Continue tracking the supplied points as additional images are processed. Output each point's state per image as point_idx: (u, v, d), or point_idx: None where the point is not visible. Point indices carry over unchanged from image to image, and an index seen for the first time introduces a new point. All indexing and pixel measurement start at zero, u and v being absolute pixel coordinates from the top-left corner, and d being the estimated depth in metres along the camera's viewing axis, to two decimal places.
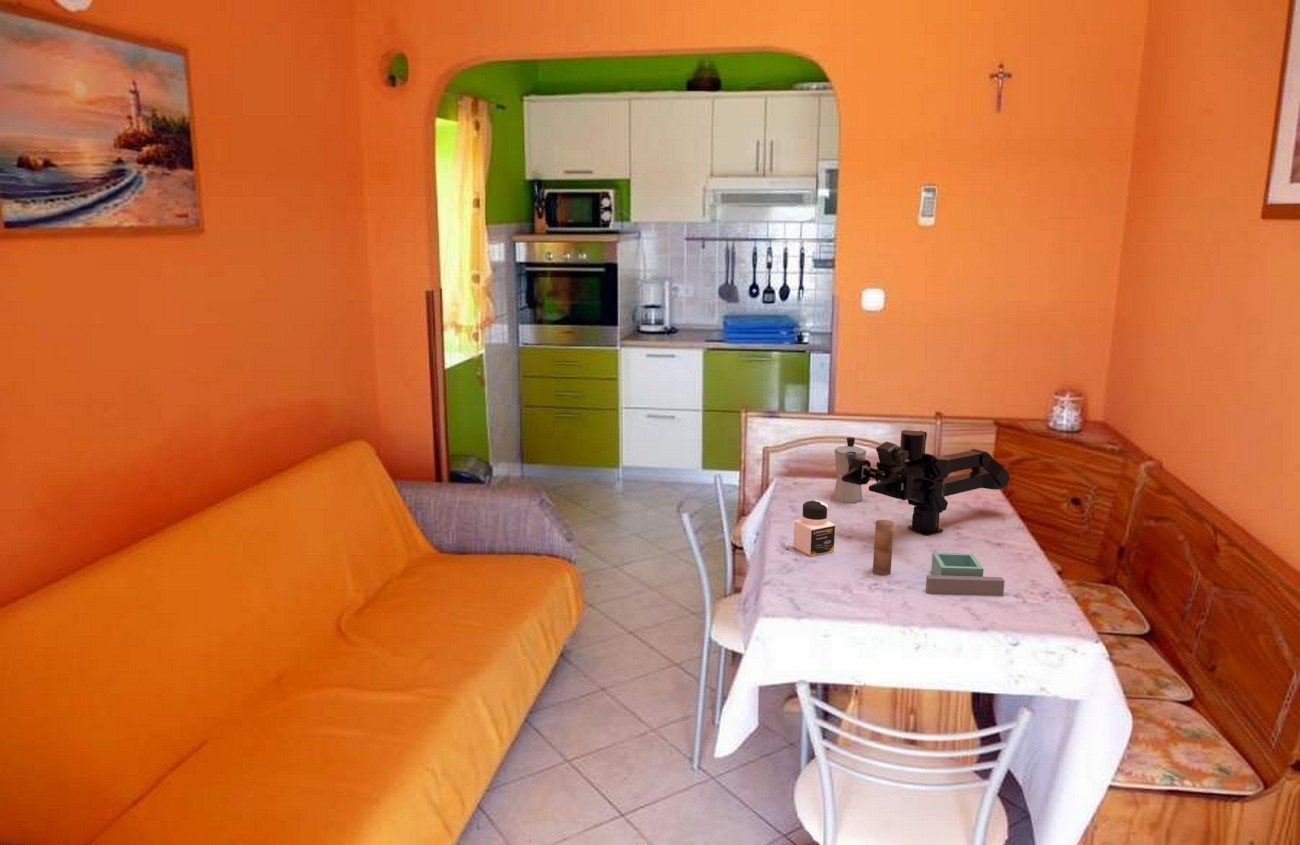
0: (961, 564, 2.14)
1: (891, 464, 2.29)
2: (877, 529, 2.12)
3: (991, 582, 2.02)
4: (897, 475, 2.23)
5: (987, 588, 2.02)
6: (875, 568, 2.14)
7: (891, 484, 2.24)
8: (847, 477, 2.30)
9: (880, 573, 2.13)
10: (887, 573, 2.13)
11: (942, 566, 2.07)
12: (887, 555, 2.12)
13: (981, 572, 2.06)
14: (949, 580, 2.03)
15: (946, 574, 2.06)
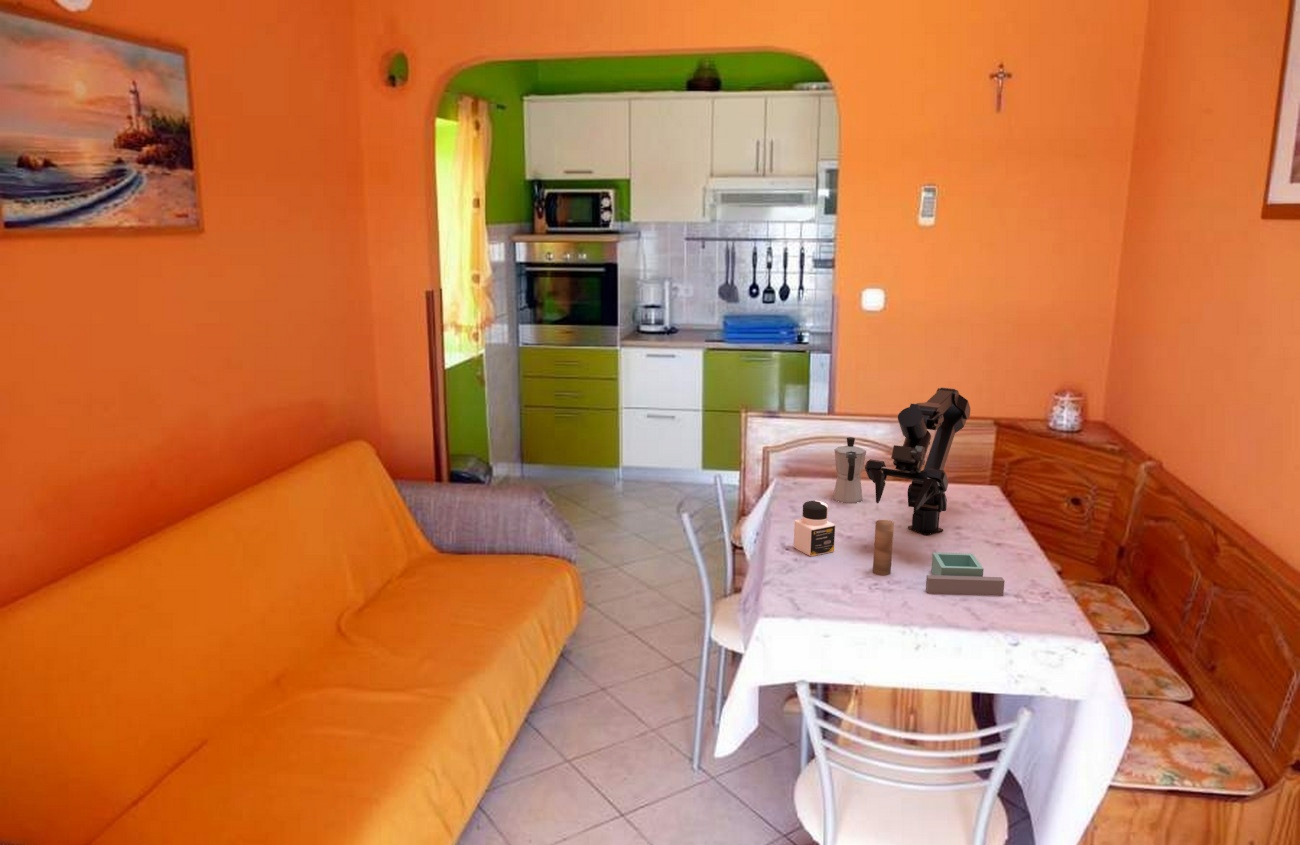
0: (961, 564, 2.14)
1: (912, 463, 2.19)
2: (877, 529, 2.12)
3: (991, 582, 2.02)
4: (931, 480, 2.16)
5: (987, 588, 2.02)
6: (875, 568, 2.14)
7: None
8: (879, 496, 2.22)
9: (880, 573, 2.13)
10: (887, 573, 2.13)
11: (942, 566, 2.07)
12: (887, 555, 2.12)
13: (981, 572, 2.06)
14: (949, 580, 2.03)
15: (946, 574, 2.06)
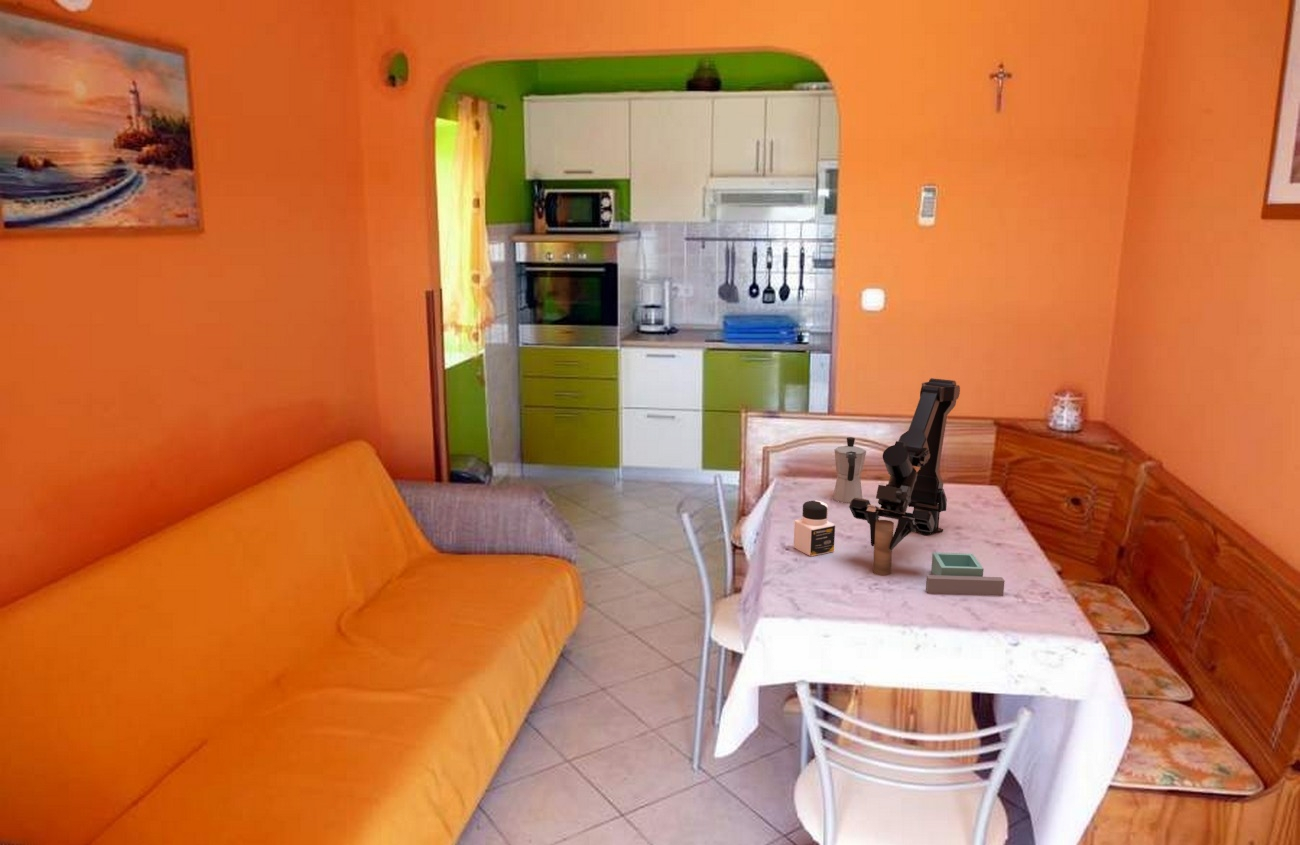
0: (961, 564, 2.14)
1: (897, 502, 2.13)
2: (877, 529, 2.12)
3: (991, 582, 2.02)
4: (906, 519, 2.11)
5: (987, 588, 2.02)
6: (875, 568, 2.14)
7: None
8: (874, 539, 2.14)
9: (880, 573, 2.13)
10: (887, 573, 2.13)
11: (942, 566, 2.07)
12: (887, 555, 2.12)
13: (981, 572, 2.06)
14: (949, 580, 2.03)
15: (946, 574, 2.06)
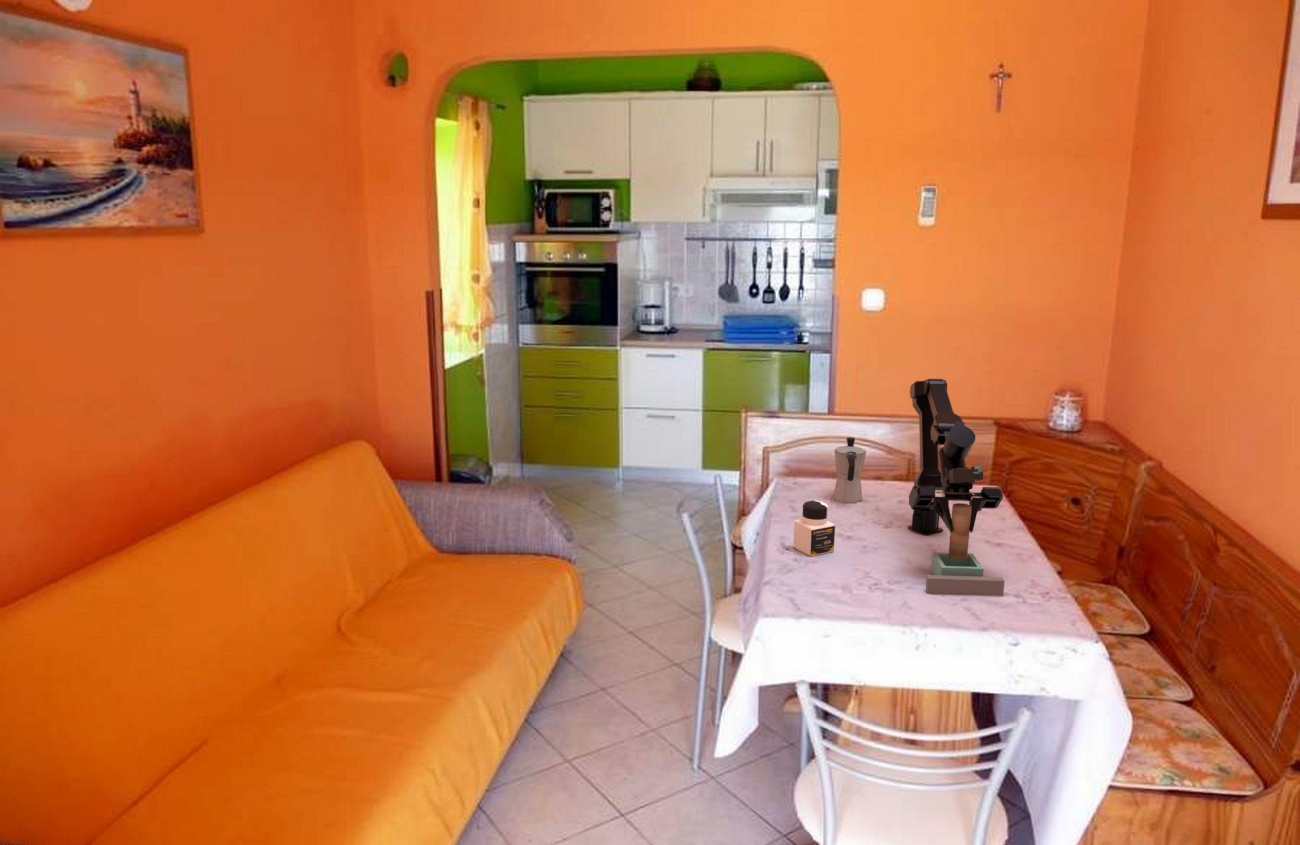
0: (961, 564, 2.14)
1: (967, 484, 2.09)
2: (958, 514, 2.06)
3: (991, 582, 2.02)
4: (982, 499, 2.08)
5: (987, 588, 2.02)
6: (956, 554, 2.08)
7: None
8: None
9: (961, 558, 2.08)
10: (966, 557, 2.09)
11: (942, 566, 2.07)
12: (968, 539, 2.08)
13: (981, 572, 2.06)
14: (949, 580, 2.03)
15: (946, 574, 2.06)
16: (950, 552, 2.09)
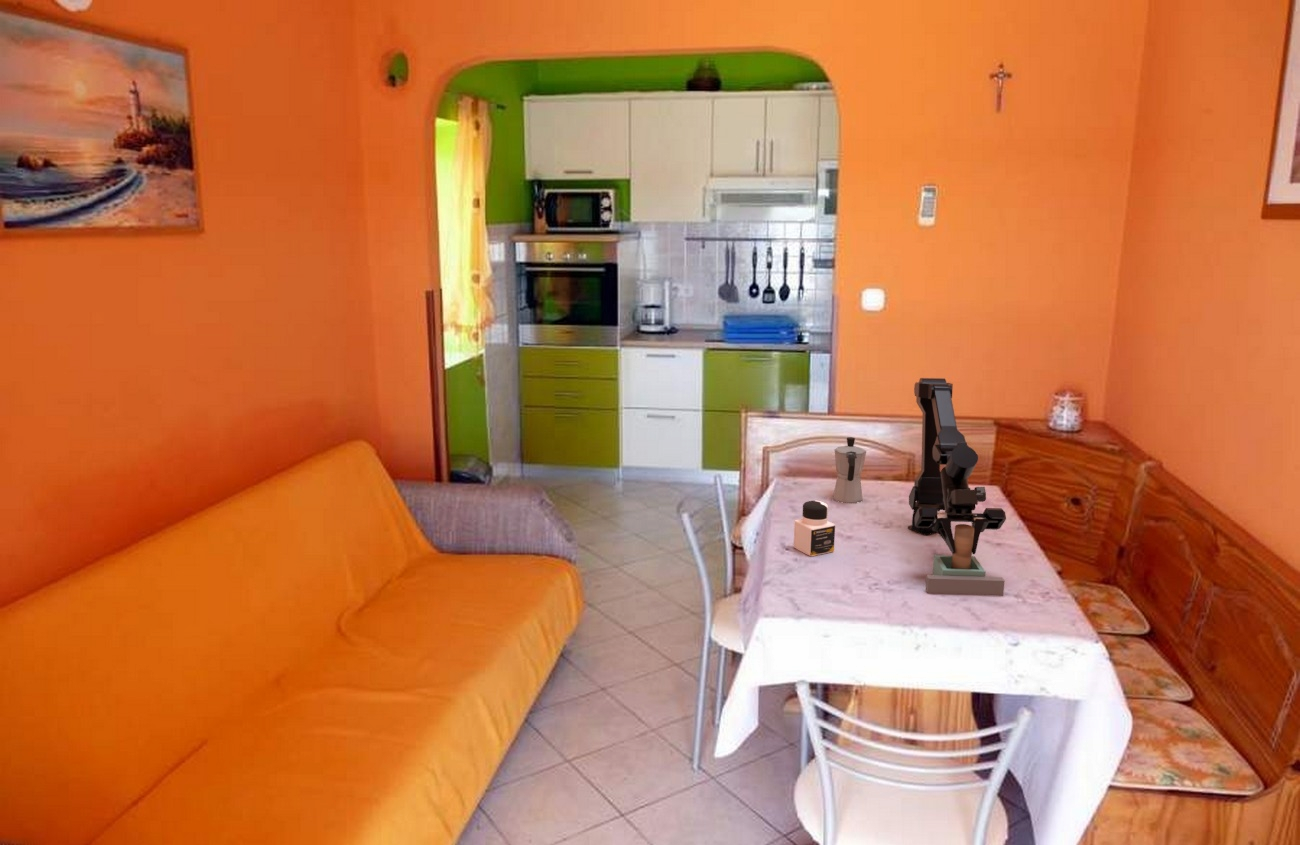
0: None
1: (970, 505, 2.07)
2: (961, 536, 2.03)
3: (991, 582, 2.02)
4: (984, 520, 2.06)
5: (987, 588, 2.02)
6: None
7: None
8: None
9: None
10: None
11: (944, 569, 2.05)
12: (970, 560, 2.05)
13: (983, 575, 2.04)
14: (949, 580, 2.03)
15: None
16: None
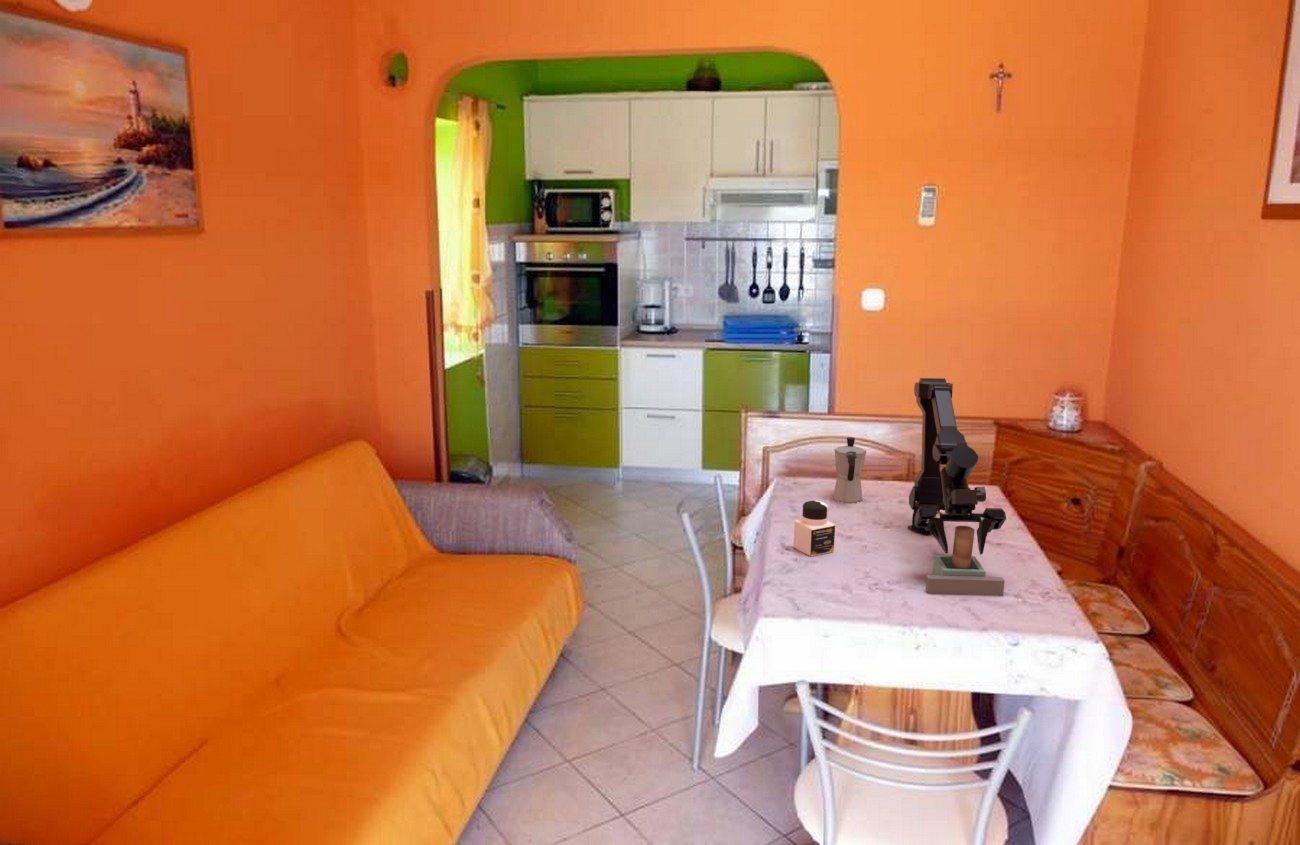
0: None
1: (970, 505, 2.07)
2: (961, 537, 2.04)
3: (991, 582, 2.02)
4: (992, 521, 2.05)
5: (987, 588, 2.02)
6: None
7: None
8: None
9: None
10: None
11: (944, 569, 2.05)
12: (970, 562, 2.06)
13: (983, 575, 2.04)
14: (949, 580, 2.03)
15: None
16: None
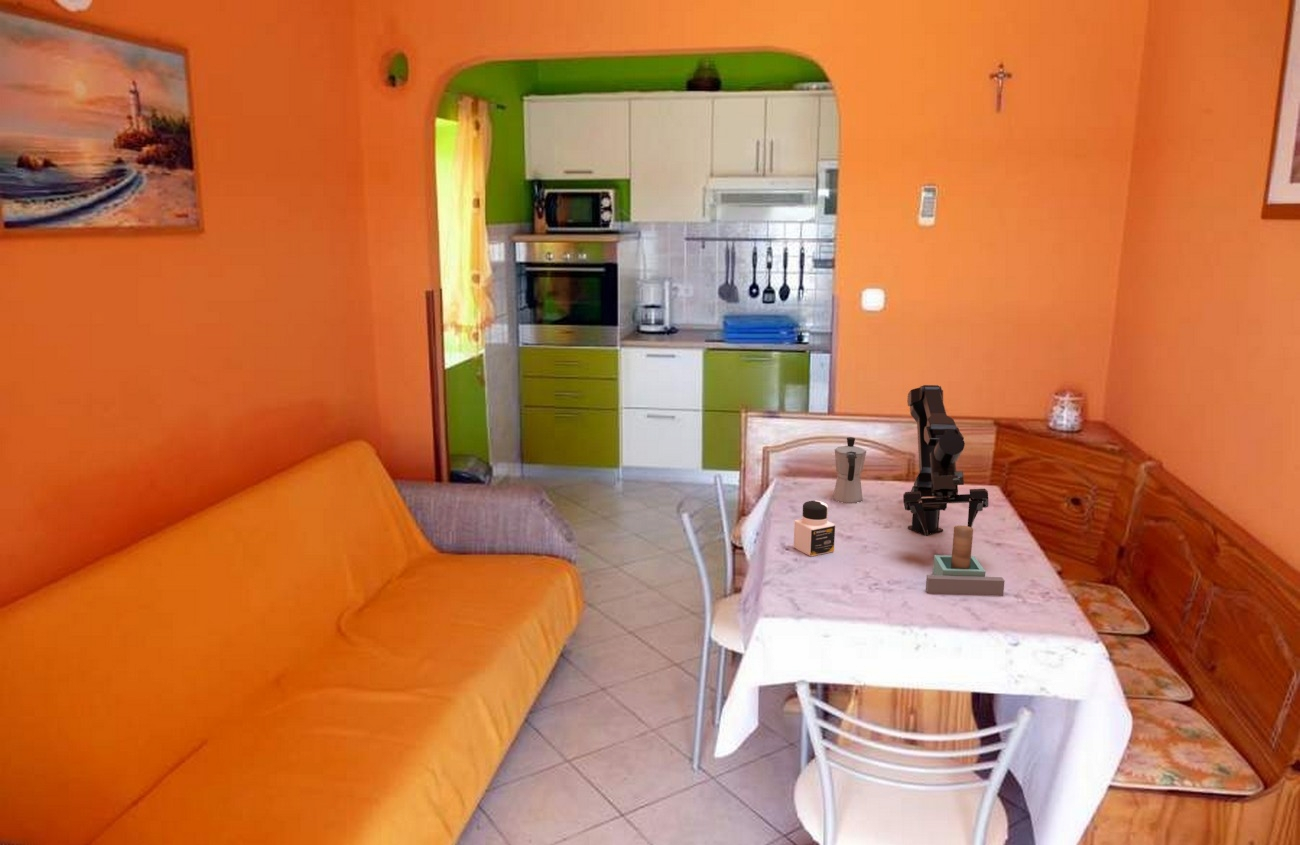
0: None
1: None
2: (960, 536, 2.04)
3: (991, 582, 2.02)
4: (977, 502, 2.13)
5: (987, 588, 2.02)
6: None
7: None
8: (927, 529, 2.17)
9: None
10: None
11: (944, 569, 2.05)
12: (969, 561, 2.06)
13: (983, 575, 2.04)
14: (949, 580, 2.03)
15: None
16: None
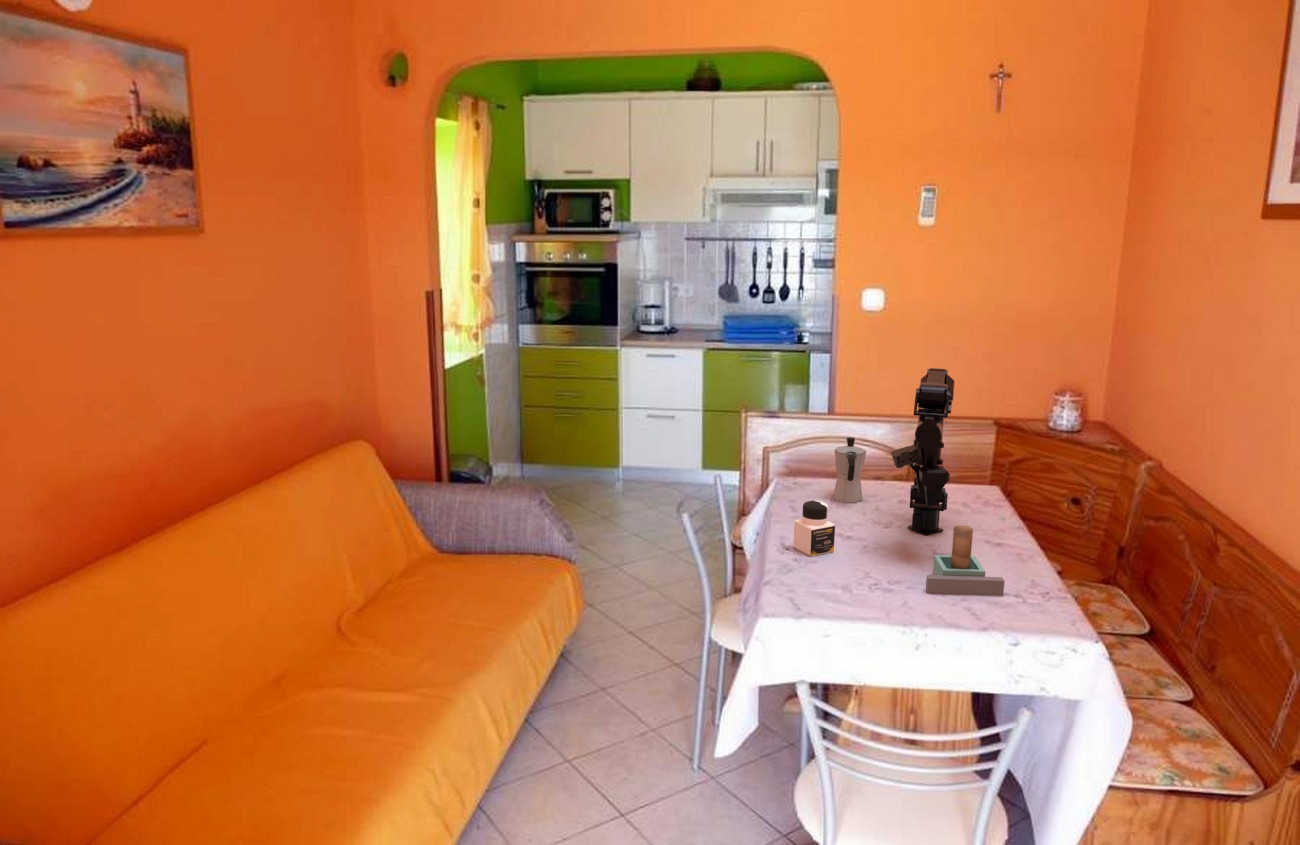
0: None
1: None
2: (960, 536, 2.04)
3: (991, 582, 2.02)
4: (921, 481, 2.17)
5: (987, 588, 2.02)
6: None
7: None
8: (921, 488, 2.29)
9: None
10: None
11: (944, 569, 2.05)
12: (969, 561, 2.06)
13: (983, 575, 2.04)
14: (949, 580, 2.03)
15: None
16: None
